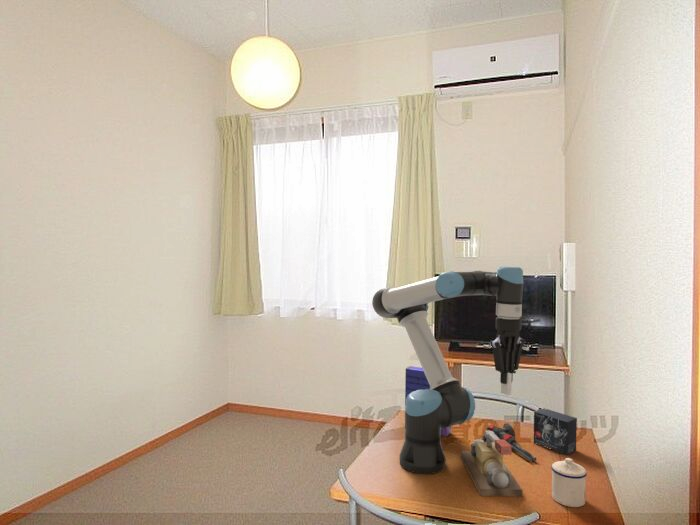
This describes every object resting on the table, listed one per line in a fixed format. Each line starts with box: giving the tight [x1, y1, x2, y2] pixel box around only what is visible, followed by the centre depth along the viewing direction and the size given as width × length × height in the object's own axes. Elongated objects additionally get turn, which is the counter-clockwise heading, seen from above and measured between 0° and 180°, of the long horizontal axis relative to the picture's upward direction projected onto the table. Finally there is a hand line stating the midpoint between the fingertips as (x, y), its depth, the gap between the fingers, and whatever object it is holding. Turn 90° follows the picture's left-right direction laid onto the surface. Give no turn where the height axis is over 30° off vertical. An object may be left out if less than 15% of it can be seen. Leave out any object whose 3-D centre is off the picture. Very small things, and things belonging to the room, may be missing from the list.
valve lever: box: [484, 430, 512, 456], centre depth 142 cm, size 14×3×2 cm, turn 4°
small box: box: [533, 407, 578, 456], centre depth 170 cm, size 13×7×12 cm, turn 37°
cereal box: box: [404, 366, 453, 438], centre depth 185 cm, size 17×5×24 cm, turn 59°
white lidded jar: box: [551, 457, 588, 508], centre depth 134 cm, size 12×9×12 cm
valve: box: [480, 422, 538, 462], centre depth 169 cm, size 6×26×15 cm
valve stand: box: [460, 438, 523, 497], centre depth 148 cm, size 12×26×12 cm, turn 179°
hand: (505, 393), depth 144 cm, fingers closed
